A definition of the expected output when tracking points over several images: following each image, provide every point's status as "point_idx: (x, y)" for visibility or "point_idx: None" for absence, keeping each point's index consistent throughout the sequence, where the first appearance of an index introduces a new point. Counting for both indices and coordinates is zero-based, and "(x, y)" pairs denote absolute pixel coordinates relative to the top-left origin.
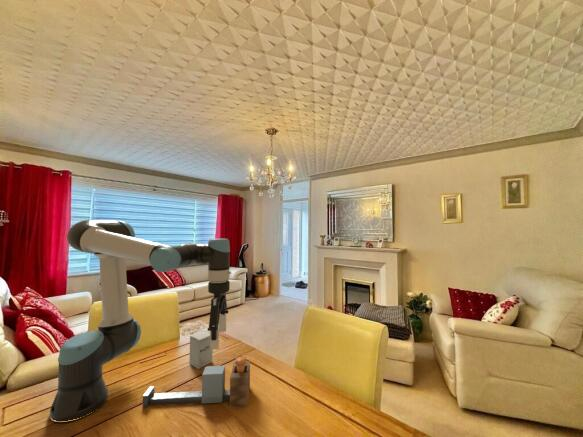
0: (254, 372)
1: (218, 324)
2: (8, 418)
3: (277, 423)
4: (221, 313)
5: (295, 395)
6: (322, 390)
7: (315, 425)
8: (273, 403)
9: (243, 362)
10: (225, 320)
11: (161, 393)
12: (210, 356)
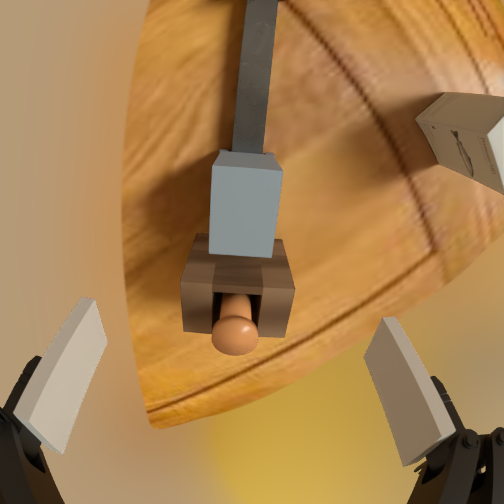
0: (343, 292)
1: (53, 482)
2: None
3: (147, 327)
4: (444, 449)
5: (225, 364)
6: (234, 398)
7: (148, 372)
8: None
9: (216, 345)
10: (391, 424)
11: (274, 14)
12: (448, 163)
